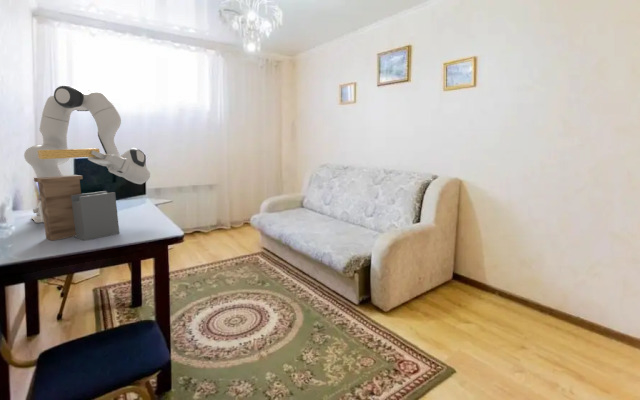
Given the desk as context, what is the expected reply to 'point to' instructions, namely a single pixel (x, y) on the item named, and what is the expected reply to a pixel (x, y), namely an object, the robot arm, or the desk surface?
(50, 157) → the wooden block
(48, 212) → the stand
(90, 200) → the cradle
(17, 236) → the desk surface
